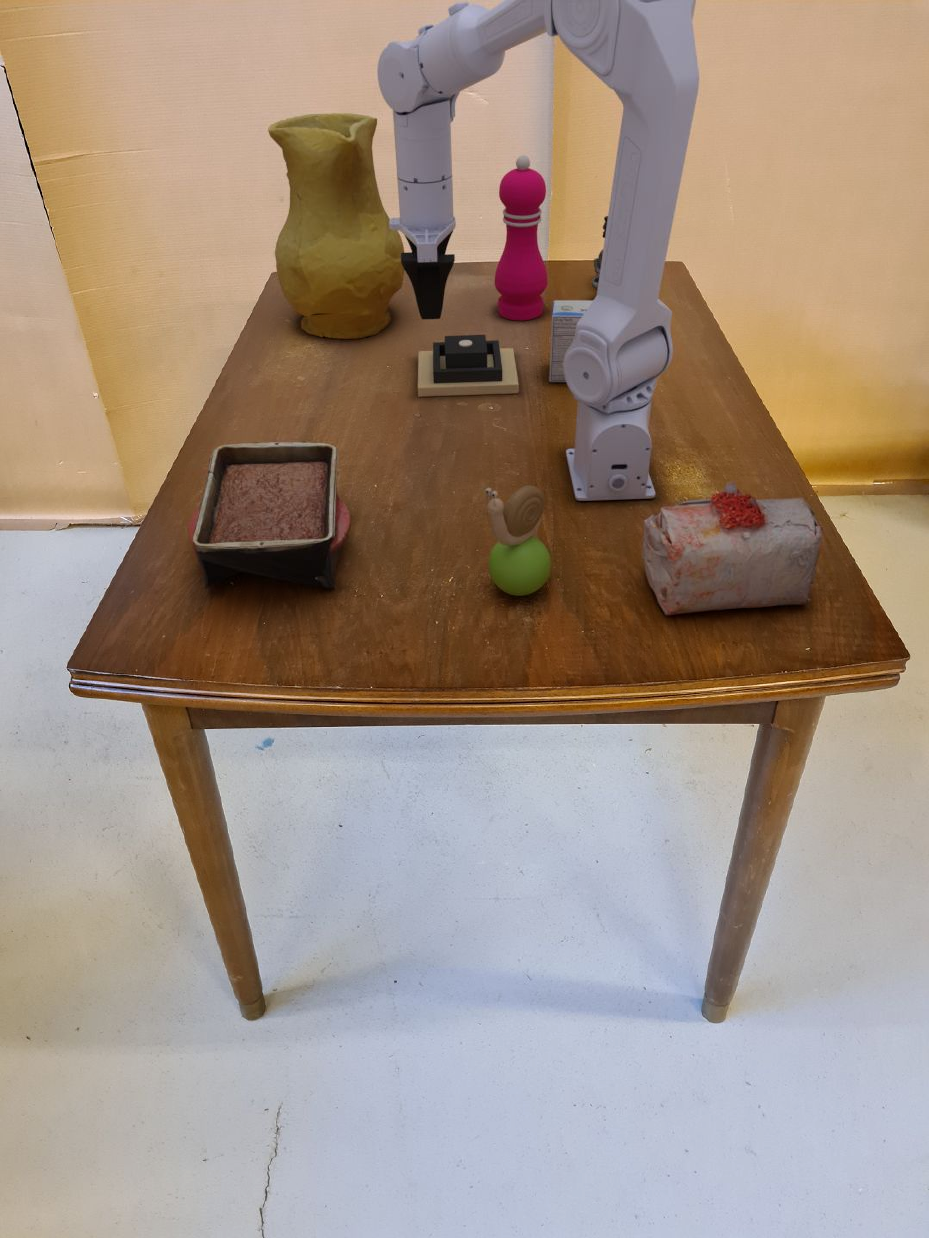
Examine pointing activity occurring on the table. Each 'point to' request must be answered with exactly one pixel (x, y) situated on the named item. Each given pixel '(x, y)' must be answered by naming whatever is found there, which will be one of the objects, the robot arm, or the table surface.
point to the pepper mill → (521, 244)
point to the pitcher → (335, 227)
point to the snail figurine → (518, 542)
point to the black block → (465, 351)
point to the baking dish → (271, 513)
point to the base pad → (467, 373)
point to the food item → (731, 553)
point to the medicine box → (563, 333)
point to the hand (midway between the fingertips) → (430, 304)
